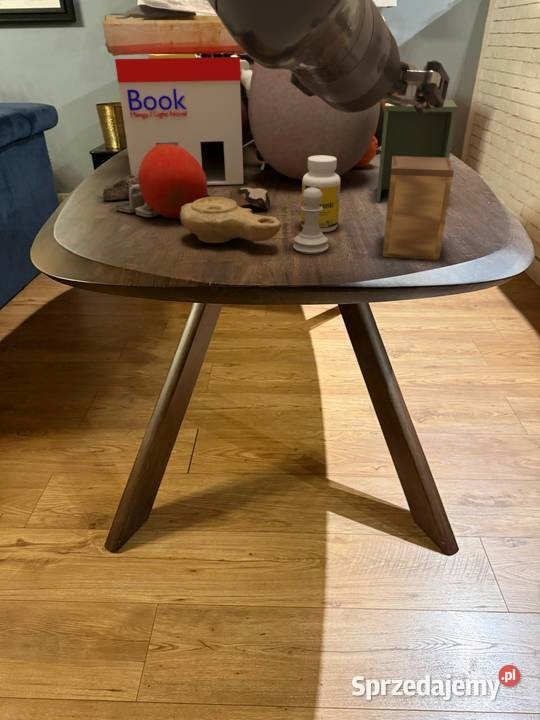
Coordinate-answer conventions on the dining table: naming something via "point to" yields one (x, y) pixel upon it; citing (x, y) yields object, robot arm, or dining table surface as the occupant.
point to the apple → (171, 179)
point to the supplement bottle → (323, 190)
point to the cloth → (152, 12)
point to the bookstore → (184, 111)
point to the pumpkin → (368, 153)
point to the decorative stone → (255, 196)
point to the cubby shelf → (414, 136)
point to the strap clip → (137, 204)
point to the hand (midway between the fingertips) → (383, 98)
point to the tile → (182, 5)
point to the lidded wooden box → (417, 207)
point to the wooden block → (168, 36)
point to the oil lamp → (226, 221)
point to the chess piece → (311, 225)
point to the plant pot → (303, 125)
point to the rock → (121, 188)
